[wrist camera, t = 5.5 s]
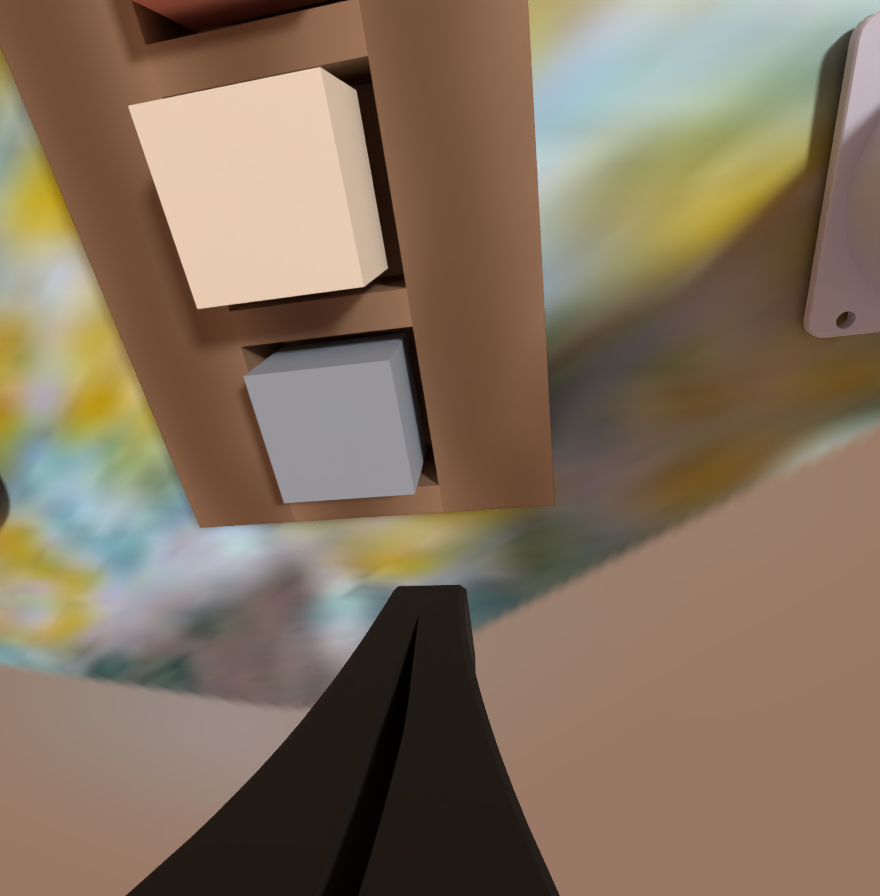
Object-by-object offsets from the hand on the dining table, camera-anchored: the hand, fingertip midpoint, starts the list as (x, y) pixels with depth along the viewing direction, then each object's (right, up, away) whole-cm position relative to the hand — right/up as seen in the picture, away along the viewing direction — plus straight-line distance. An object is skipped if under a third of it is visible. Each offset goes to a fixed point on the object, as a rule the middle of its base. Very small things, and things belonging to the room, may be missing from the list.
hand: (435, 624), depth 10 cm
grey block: (-3, +5, +7) cm, 9 cm away
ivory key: (-4, +10, +3) cm, 11 cm away
